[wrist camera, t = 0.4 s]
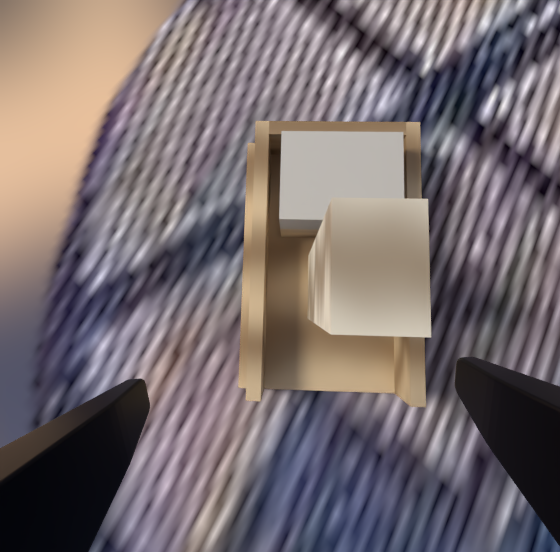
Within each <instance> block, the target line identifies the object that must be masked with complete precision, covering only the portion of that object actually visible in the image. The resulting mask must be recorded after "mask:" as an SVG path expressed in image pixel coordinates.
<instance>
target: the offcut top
mask: <svg viewBox="0 0 560 552" xmlns="http://www.w3.org/2000/svg"><path fill="white" fill-rule="evenodd" d="M332 197H336V198H403V199H404V146H403V132H344V131H282V133H281V170H280V207H279V222H280V229H309V230H319V228H320V226H321V223H322V221H323V219H324V216H325V214H326V211H327V209H328V206H329V204H330V201H331V199H332Z"/></svg>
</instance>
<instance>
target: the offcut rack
mask: <svg viewBox="0 0 560 552" xmlns="http://www.w3.org/2000/svg"><path fill="white" fill-rule="evenodd" d="M282 131H344V132H403V146H404V199H422V193H421V145H420V122H326V121H256V129H255V143H248V152H247V178H246V204H245V230H244V256H243V282H242V308H241V334H240V360H239V386H238V388H246V401H261V398H262V394H263V391H264V389H285V390H314V391H343V392H372V393H395V394H396V395H397V396H398V397H400V398H401V399H402V400H403V401H405V402H406V403H407V404H408V405H409V406H411V407H426V383H425V337H397V336H363V335H331V334H329V333H328V332H326V331H325V330H323V329H322V328H321V327H319V326H318V325H316V324H315V323H313V322H312V321H310V320H309V319H308V318H307V309H308V255H309V253H310V251H311V248H312V246H313V243H314V241H315V238H316V237H281V232H280V222H279V207H280V170H281V133H282Z"/></svg>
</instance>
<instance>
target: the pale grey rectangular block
mask: <svg viewBox="0 0 560 552" xmlns="http://www.w3.org/2000/svg"><path fill="white" fill-rule="evenodd" d="M307 318H308V319H309V320H310V321H312V322H313V323H315V324H316V325H318V326H319V327H321V328H322V329H323V330H325V331H326V332H328V333H329V334H331V335H363V336H397V337H431V303H430V260H429V217H428V199H403V198H336V197H332V199H331V201H330V204H329V206H328V209H327V211H326V214H325V216H324V219H323V221H322V223H321V226H320V228H319V231H318V233H317V236H316V238H315V241H314V243H313V246H312V248H311V251H310V253H309V255H308V309H307Z"/></svg>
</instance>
